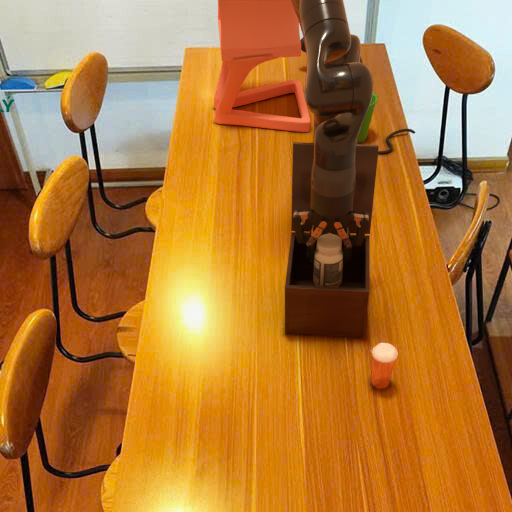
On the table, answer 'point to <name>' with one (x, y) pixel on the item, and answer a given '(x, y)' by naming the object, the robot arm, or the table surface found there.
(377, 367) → the milkshake
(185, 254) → the table surface
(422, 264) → the table surface
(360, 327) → the chest
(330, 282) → the pill bottle
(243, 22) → the chair
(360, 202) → the lid
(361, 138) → the cup
